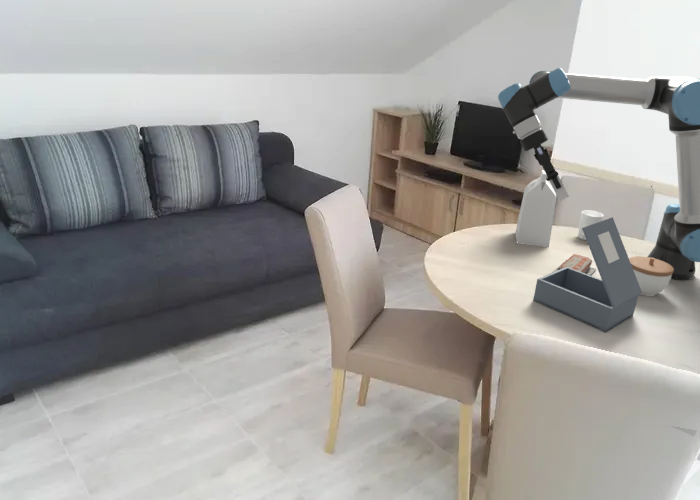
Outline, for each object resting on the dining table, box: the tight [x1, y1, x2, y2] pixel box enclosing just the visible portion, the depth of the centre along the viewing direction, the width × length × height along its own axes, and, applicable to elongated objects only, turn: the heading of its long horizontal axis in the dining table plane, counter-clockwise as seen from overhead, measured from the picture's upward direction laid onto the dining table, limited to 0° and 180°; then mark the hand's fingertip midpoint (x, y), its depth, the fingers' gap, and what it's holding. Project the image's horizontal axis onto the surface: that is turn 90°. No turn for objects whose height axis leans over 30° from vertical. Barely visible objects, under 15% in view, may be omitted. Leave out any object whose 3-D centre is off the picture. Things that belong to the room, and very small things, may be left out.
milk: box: [515, 169, 557, 248], centre depth 210 cm, size 12×12×26 cm
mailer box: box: [532, 267, 640, 333], centre depth 162 cm, size 22×16×7 cm
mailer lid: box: [582, 216, 642, 308], centre depth 153 cm, size 22×16×1 cm
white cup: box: [577, 209, 604, 241], centre depth 218 cm, size 8×8×10 cm
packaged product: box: [551, 253, 597, 276], centre depth 185 cm, size 18×5×10 cm
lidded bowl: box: [628, 255, 674, 297], centre depth 175 cm, size 13×13×11 cm
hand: (563, 197), depth 170 cm, fingers open, 13 cm apart
